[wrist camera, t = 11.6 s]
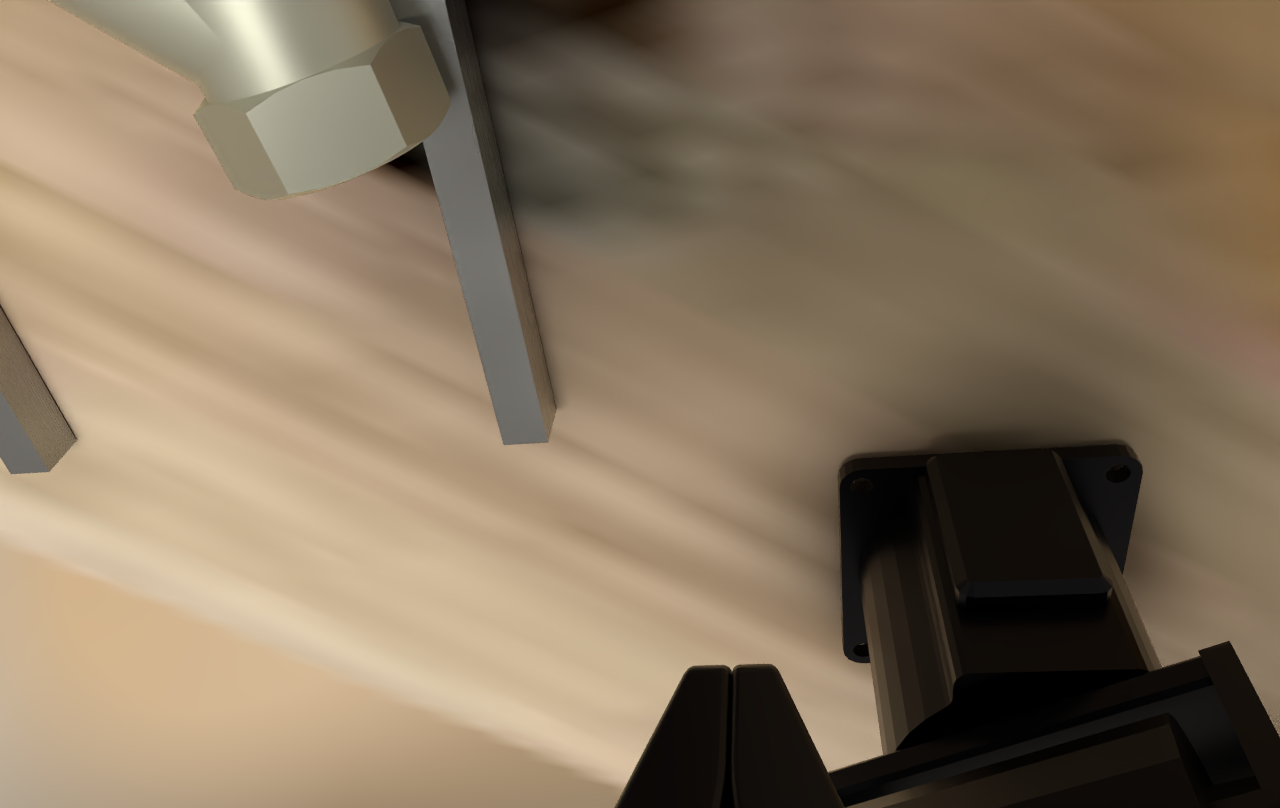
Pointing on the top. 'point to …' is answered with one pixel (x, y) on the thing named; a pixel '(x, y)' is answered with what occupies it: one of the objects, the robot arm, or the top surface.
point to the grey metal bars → (480, 242)
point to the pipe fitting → (289, 82)
